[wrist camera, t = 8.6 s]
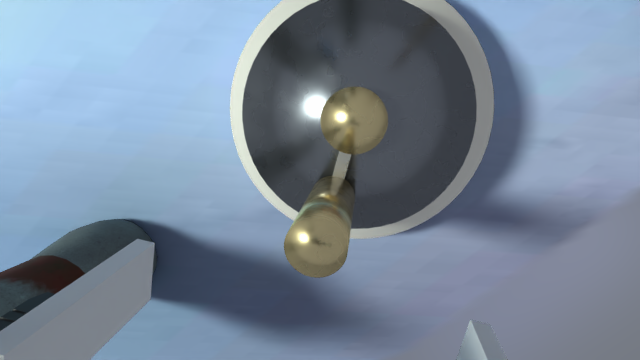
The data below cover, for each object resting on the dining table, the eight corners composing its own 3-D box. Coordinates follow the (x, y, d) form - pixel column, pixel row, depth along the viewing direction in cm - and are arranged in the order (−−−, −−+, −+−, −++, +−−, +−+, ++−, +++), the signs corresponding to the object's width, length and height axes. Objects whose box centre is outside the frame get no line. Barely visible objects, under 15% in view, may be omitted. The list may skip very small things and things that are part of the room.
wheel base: (259, -39, 32) (246, -53, 29) (518, 7, 30) (536, -2, 27) (228, 199, 38) (214, 210, 34) (443, 249, 36) (450, 266, 33)
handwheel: (274, -27, 29) (210, -102, 17) (505, 31, 28) (602, -8, 16) (232, 188, 34) (160, 242, 22) (426, 244, 32) (457, 332, 21)
